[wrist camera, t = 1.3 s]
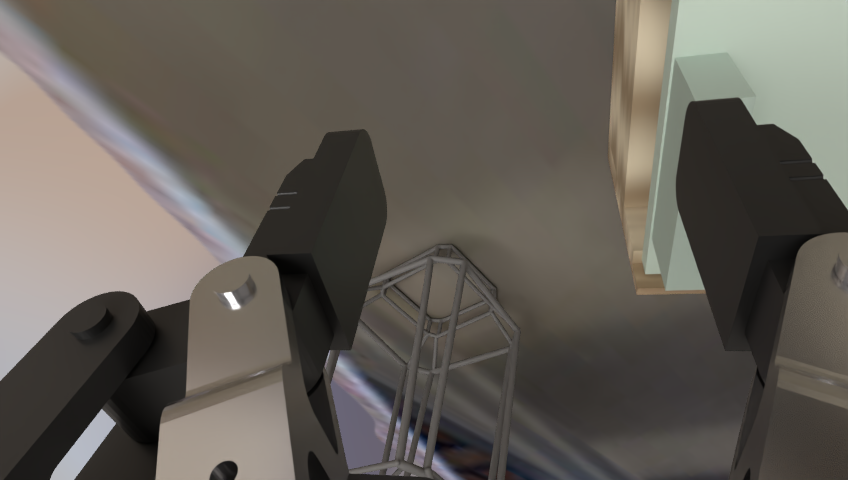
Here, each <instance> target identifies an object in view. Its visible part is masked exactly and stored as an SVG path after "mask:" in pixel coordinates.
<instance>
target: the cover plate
mask: <svg viewBox="0 0 848 480" xmlns="http://www.w3.org/2000/svg"><path fill="white" fill-rule="evenodd" d="M735 97H738V98H740V99H741V100H742V101H743V103H744V105H745V106H746V108H747V110H748V111H749V113H750V114H751V116H752V118H753V119H754V121H755V123H756V124H757V125H763V124H775V125H776V126H778V127H780V128H781V129H783V130H784V131H786V132H788V133H789V134H791V135H793V136H794V137H796V138H798V139H799V140H800V142H801V143H802V144H803V146H804V147H805V149H806V150H807V152H808V153H809V155H810V156H811V157H812V163H816V165H817V166H818V168H819V169H820V170H821V172H822V173H823V175H824V176H823V179H827V181H828V182H829V183H830V185H831V186H832V188H833V189H834V191H835V192H836V194H837V195H838V196H839V198H840V199H841V201H842V202H843V204H844V205H845V207H846V208H847V209H848V0H672V3H671V12H670V21H669V29H668V38H667V46H666V55H665V64H664V72H663V81H662V89H661V98H660V107H659V115H658V124H657V132H656V141H655V149H654V158H653V167H652V175H651V184H650V192H649V201H648V210H647V218H646V227H645V235H644V244H643V253H642V263H643V267H644V272H645V274H661V276H662V280H663V283H664V287H665V291H672V290H705V289H704V286H703V283H702V280H701V277H700V274H699V271H698V268H697V265H696V262H695V259H694V256H693V253H692V250H691V247H690V244H689V241H688V238H687V235H686V232H685V229H684V226H683V223H682V220H681V217H680V214H679V211H678V207H677V201H676V174H677V167H678V161H679V154H680V147H681V141H682V134H683V127H684V120H685V114H686V110H687V107H688V105H689V103H690V102H691V101H700V100H712V99H723V98H735Z"/></svg>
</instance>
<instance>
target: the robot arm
mask: <svg viewBox="0 0 848 480" xmlns="http://www.w3.org/2000/svg"><path fill="white" fill-rule="evenodd" d="M823 176H824V175H823V173H822V172H821V170H820V169H819V168H818V166H817V165H816V163H812V157H811V156H810V155H809V153H808V152H807V150H806V149H805V147H804V146H803V144H802V143H801V142H800V140H799V139H798V138H796V137H794V136H793V135H791V134H789V133H788V132H786V131H784V130H783V129H781V128H780V127H778V126H776V125H775V124H763V125H757V124H756V123H755V121H754V119H753V118H752V116H751V114H750V113H749V111H748V110H747V108H746V106H745V105H744V103H743V101H742V100H741V99H740V98H738V97H735V98H723V99H712V100H700V101H691V102H690V103H689V105H688V107H687V110H686V114H685V120H684V127H683V134H682V141H681V147H680V154H679V161H678V167H677V174H676V201H677V207H678V211H679V214H680V217H681V220H682V223H683V226H684V229H685V232H686V235H687V238H688V241H689V244H690V247H691V250H692V253H693V256H694V259H695V262H696V265H697V268H698V271H699V274H700V277H701V280H702V283H703V286H704V289H705V292H706V295H707V298H708V301H709V304H710V307H711V310H712V313H713V316H714V319H715V322H716V325H717V328H718V331H719V334H720V337H721V340H722V343H723V346H724V349H725V351H752V354H753V357H754V359H755V362H756V365H757V367H756V370H755V373H754V376H753V378H752V381H751V385H750V390H749V394H748V398H747V402H746V407H745V411H744V415H743V420H742V424H741V428H740V432H739V437H738V441H737V445H736V450H735V454H734V458H733V462H732V467H731V471H730V475H729V479H728V480H848V209H847V208H846V207H845V205H844V204H843V202H842V201H841V199H840V198H839V196H838V195H837V194H836V192H835V191H834V189H833V188H832V186H831V185H830V183H829V182H828V181H827V179H823ZM277 194H278V196H275V198H274V200H273V202H272V204H271V205H270V211H267V213H266V215H265V217H264V219H263V220H262V222H261V224H260V226H259V228H258V230H257V232H256V234H255V235H254V237H253V239H252V241H251V243H250V245H249V247H248V249H247V250H246V252H245V254H244V256H243V257H240V258H236V259H233V260H230V261H228V262H225V263H223V264H221V265H219V266H217V267H216V268H214V269H213V270H211V271H210V272H209V273H208V274H206V275H205V276H204V277H203V278H202V279H201V280H200V281H199V283H198V284H197V285H196V286H195V288H194V290H193V292H192V294H191V297H190V300H186V301H183V302H180V303H176V304H172V305H168V306H165V307H161V308H158V309H154V310H150V311H147V312H146V310H145V309H144V308H143V306H142V305H141V304H140V302H139V301H138V300H137V298H136V297H135V296H134V295H132V294H130V293H127V292H120V291H119V292H118V291H117V292H108V293H104V294H101V295H98V296H95V297H93V298H91V299H88V300H86V301H84V302H82V303H81V304H79V305H77V306H76V307H74V308H73V309H72V310H70V311H69V312H68V313H66V314H65V315H64V316H63V317H62V318H61V319H60V320H59V321H58V322H57V323H56V324H55V325H54V326H53V327H52V328H51V329H50V330H49V331H48V333H46V335H45V336H43V338H42V339H41V340H40V341H39V342H38V343H37V344H36V345H35V346H34V347H33V348H32V349H31V350H30V351H29V352H28V353H27V354H26V355H25V356H24V357H23V358H22V359H21V360H20V361H19V362H18V363H17V364H16V366H15V367H14V368H13V369H12V370H11V371H10V372H9V373H8V374H7V375H6V376H5V377H4V378H3V379H2V380H1V381H0V480H50V478H51V475H52V473H53V471H54V469H55V468H56V467H57V465H58V464H59V463H60V461H61V460H62V459H63V457H64V456H65V455H66V453H67V452H68V451H69V450H70V448H71V447H72V446H73V445H74V443H75V442H76V441H77V439H78V438H79V437H80V436H81V434H82V433H83V432H84V430H85V429H86V428H87V427H88V425H89V424H90V423H91V422H92V420H93V419H94V418H95V417H96V415H97V414H98V413H99V411H100V410H101V409H103V410H104V411H105V412H106V413H107V414H108V415H109V416H110V417H111V418H112V419H113V420H114V421H115V422H116V425H115V426H114V427H113V429H112V430H111V431H110V433H109V434H108V435H107V437H106V438H105V439H104V441H103V442H102V443H101V445H100V446H99V447H98V449H97V450H96V451H95V453H94V454H93V455H92V457H91V458H90V459H89V461H88V462H87V463H86V465H85V466H84V467H83V469H82V470H81V472H80V473H79V474H78V476H77V477H76V478H75V480H434V479H431V478H428V477H412V476H392V475H391V476H390V475H370V474H350V473H349V470H348V466H347V462H346V458H345V453H344V448H343V444H342V438H341V434H340V429H339V424H338V419H337V415H336V410H335V405H334V400H333V396H332V390H331V386H330V381H329V377H328V374H327V371H326V369H325V367H324V365H325V362H326V359H327V356H328V353H329V350H351V348H352V344H353V341H354V337H355V334H356V330H357V326H358V323H359V319H360V315H361V312H362V308H363V305H364V301H365V297H366V294H367V290H368V286H369V283H370V279H371V276H372V272H373V268H374V265H375V261H376V258H377V254H378V250H379V247H380V243H381V239H382V236H383V232H384V229H385V225H386V219H387V203H386V196H385V191H384V188H383V184H382V180H381V176H380V173H379V169H378V165H377V161H376V158H375V154H374V150H373V147H372V143H371V139H370V137H369V134H368V133H367V131H366V130H364V129H362V130H350V131H339V132H328V133H327V134H326V135H325V136H324V138H323V140H322V142H321V144H320V146H319V149H318V151H317V153H316V155H315V157H314V159H304V160H303V161H302V162H301V163H300V164H299V165H298V166H296V167H295V168H294V169H293V170H292V171H291V172H290V173H289V174H287V175H286V177H285V179H284V181H283V183H282V185H281V187H280V189H279V190H278V192H277Z"/></svg>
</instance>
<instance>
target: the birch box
mask: <svg viewBox="0 0 848 480" xmlns="http://www.w3.org/2000/svg"><path fill="white" fill-rule="evenodd" d="M671 3H672V0H616V15H615V34H614V53H613V71H612V90H611V109H610V127H609V146H608V159H609V164H610V169H611V174H612V179H613V183H614V188H615V193H616V198H617V202H618V207H619V212H620V217H621V222H622V226H623V231H624V236H625V241H626V245H627V250H628V255H629V260H630V265H631V269H632V274H633V279H634V284H635V288H636V293H637V295H645V294H695V293H706V292H705V290H672V291H665V287H664V283H663V280H662V276H661V274H645V272H644V267H643V263H642V253H643V244H644V235H645V227H646V218H647V210H648V201H649V192H650V184H651V175H652V167H653V158H654V149H655V141H656V132H657V124H658V115H659V107H660V98H661V89H662V81H663V72H664V64H665V55H666V46H667V38H668V29H669V21H670V12H671Z"/></svg>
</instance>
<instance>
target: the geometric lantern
mask: <svg viewBox="0 0 848 480" xmlns="http://www.w3.org/2000/svg"><path fill="white" fill-rule="evenodd" d="M439 249H447V256H446V257H444V256H438V254H439ZM451 250H453V251H454V252H455V253H456V254H457V255H458V256H459V257H460V258H461V259H460V258H452V257H451ZM434 251H435V253H434V255H430V256H427V255H429V254H430V253H432V252H434ZM425 256H427V257H425ZM423 257H425V258H423ZM421 258H422V259H421ZM419 259H420V260H419ZM437 262H438V263H447V264H448V265H449V266H450V267H451V268H452V269H453V270H454V271H455V272H456V273H457V274H458V281H457V286H456V292H455V297H454V302H453V308H452V313H451V315H450V316H448V317H445V318H443V319H435V318H430V317H429V316H428V315H427V314H426V312H427V305H428V299H429V292H430V285H431V277H432V270H433V264H435V263H437ZM454 264H456V265H460V270H459V269H458V268H457V267H456V266H455V265H454ZM419 266H420V267H419ZM417 267H418V268H417ZM414 268H416V269H414ZM425 268H426V271H425V278H424V285H423V291H422V297H421V304H420V308H419V307H417V306H416V305H415V304H414V303H413V302H412V301H411V300H409V299H408V298H407V297H406V296H405V295H404V294H403V293H401V292H400V291H399V290H398V289H397V288H396V287H395V286H394V285H393V284H395V283H397V282H399V281H401V280H403V279H405V278H407V277H409V276H411V275H413V274H415V273H417V272H419V271H421V270H423V269H425ZM412 269H414V270H412ZM409 270H412V271H410V272H408V273H406V274H404V275H402V276H400V277H398V278H396V279H394V280H392V281H390V280H389V278H391V277H394V276H396V275H399V274H401V273H404V272H407V271H409ZM466 272H467V273H468V274H469V276H470V277H471V278H472V279H473V281H474V282H475V283H476V284H477V286H478V287H479V288H480V289H481V291H482V292H483V293H484V294H485V296H486V297H487V298H488V299H487V298H486V297H485V296H484V295H483V294H482V293H481V292H480V291H479V290H478V289H477V288H476V287H475V286H474V285H473V284H472V283H471V282H470V280H469V279H468V278H467V277H466V276H465V275H466ZM478 276H479V277H480V278H481V279H482V280H483V281H484V282H485V283H486V284H487V285H488V286H489V287H490V288H491V289H492V290H491V292H490V291H489V289H488V288H487V287H486V286H485V284H484V283H483V282H482V281H481V279H480V278H479V277H478ZM381 281H383V284H382V285H380V286H371V285H373V284H376V283H378V282H381ZM464 281H465V282H466V283H467V284H468V285H469V286H470V287H471V288H472V289H473V290H474V291H475V292H476V293H477V294H478V295H479V296H480V297H481V298H482V299H483V300H484V301H481V302H479V303H477V304H475V305H472V306H470V307H468V308H466V309H463V310H461V311H459V309H460V303H461V298H462V292H463V286H464ZM369 286H371V287H368V290H367V291H372V290H380V289H381V292H380V294H378V295H376V296H374V297H373V298H371V299H369V300H367V301H366V302H364V305H363V307H365V306H367V305H369V304H370V303H372V302H374V301H375V300H377V299H379V298H381V297H382V298H383V299H384V300H386V301H387V302H388V303H389V304H390V305H391V306H393V307H394V308H395V309H396V310H397V311H398V312H400V313H401V314H402V315H403V316H404V317H406V318H407V319H408V320H409V321H410V322H411V323H413V324H414V325H415V326H416V327H417V328H416V334H415V340H414V346H413V352H412V357H411V358H410V360H409V362H408V363H405V362H404V361H403V360H402V359H401V358H400V357H399V356H398V355H397V354H396V353H395V352H394V351H393V350H392V349H391V348H390V347H389V346H388V345H387V344H386V343H385V342H384V341H383V340H382V339H381V338H380V337H378V336H377V335H376V334H375V333H374V332H373V331H372V330H371V329H370V328H369V327H368V326H367V325H366V324H365V323H364V322H363V321H362V320H361V319H359V323H358V325H359V326H360V327H361V328H362V329H363V330H364V331H365V332H366V333H367V334H368V335H369V336H370V337H371V338H372V339H373V340H374V341H375V342H376V343H378V344H379V345H380V346H381V347H382V348H383V349H384V350H385V351H386V352H387V353H388V354H389V355H390V356H391V357H392V358H393V359H394V360H395V361H396V362H398V363H399V364H400V365H401V366H402V370H401V374H400V379H399V384H398V388H397V393H396V398H395V402H394V407H393V412H392V417H391V421H390V426H389V431H388V435H387V440H386V445H385V449H384V454H383V459H382V463H378V464H373V465H368V466H364V467H359V468H354V469H350V470H349V473H350V474H362V473H366V472H372V471H377V470H380V473H379V475H386V471H387V468H391V467H397V468H398V469H397V470H396V471H395V472H394V473H393V474H392V476H398V475H399V474H400V473H401V472H402V471H405V473H404V476H410V475H411V474H414V475H416V476H419V477H428V478H431V479H434V480H444V479H443V478H442V477H440V476H439V475H438V474H437V473H436V472H435V471H433V470H432V469H431V465H432V460H433V454H434V448H435V443H436V437H437V432H438V427H439V421H440V415H441V410H442V404H443V399H444V393H445V387H446V382H447V376H448V371H449V370H451V369H455V368H458V367H461V366H465V365H468V364H471V363H475V362H478V361H481V360H485V359H488V358H491V357H495V356H498V355H502V354H505V353H508V355H507V361H506V368H505V374H504V381H503V387H502V394H501V400H500V407H499V413H498V420H497V426H496V433H495V439H494V445H493V452H492V458H491V465H490V471H489V478H488V480H495V479H496V472H497V465H498V459H499V466H498V475H497V480H505V471H506V461H507V452H508V443H509V433H510V424H511V414H512V405H513V396H514V386H515V377H516V367H517V358H518V349H519V340H520V334H521V331H520V328H519V327H518V326H517V325H516V324H515V322H514V321H513V320H512V319H511V317H510V316H509V315H508V314H507V312H506V311H505V310H504V309H503V307H502V306H501V305H500V303H499V302H498V301H497V300H496V287H494V286H493V285H492V284H491V283H490V282H489V281H488V280H487V279H486V278H485V277H484V276H483V275H482V274H481V273H480V272H479V271H478V270H477V269H476V268H475V267H474V266H473V265H472V264H471V263H470V262H469V261H468V260H467V259H466V258H465V257H464V256H463V255H462V254H461V253H460V252H459V251H458V250H457V249H456V248H455V247H454V246H453V245H436V246H435V247H433V248H431V249H429V250H427V251H426V252H424V253H422V254H420V255H418V256H416V257H414V258H412V259H410V260H409V261H407V262H405V263H403V264H401V265H399V266H397V267H395V268H393V269H392V270H390V271H388V272H386V273H384V274H382V275H379V276H377V277H374V278H372V279H370V283H369ZM388 287H390V288H391V289H392V290H394V291H395V292H396V293H397V294H398V295H399V296H400V297H402V298H403V299H404V300H405V301H406V302H407V303H408V304H410V305H411V306H412V307H413V308H414V309H415V310H416V311H418V312H419V316H418V322H416V321H415V320H414V319H413V318H411V317H410V316H409V315H408V314H407V313H406V312H404V311H403V310H402V309H401V308H400V307H399V306H397V305H396V304H395V303H394V302H393V301H392V300H390V299H389V298H388V297H387V296H386V292H387V289H388ZM486 303H487V304H488V305H489V311H488V312H486V313H484V314H481V315H479V316H477V317H475V318H472V319H470V320H468V321H466V322H464V323H461V324H459V325H457V320H458V316H459V315H461V314H463V313H466V312H468V311H470V310H473V309H475V308H477V307H479V306H482V305H484V304H486ZM493 311H495V312H496V313H497V314H498V315H499V316H501V317H502V318H503V319H504V320H505V321H506V322H507V323H508V325H509V326H510V327H511V328H512V330H513V331H514V336H513V339H511V338H510V336H509V335H508V333H507V332H506V330H505V329H504V327H503V326H502V324H501V323H500V321H499V320H498V318H497V317H496V315H495V313H494V312H493ZM489 315H491V316H492V318H493V319H494V321H495V322H496V324H497V325H498V327H499V328H500V330H501V331H502V333H503V334H504V336H505V338H506V339H507V341H508V342H509V344H510V346H507V347H504V348H501V349H498V350H494V351H491V352H488V353H484V354H481V355H478V356H474V357H471V358H468V359H465V360H461V361H458V362H455V363H451V364H450V359H451V354H452V348H453V343H454V337H455V331H456V330H457V329H460V328H462V327H464V326H466V325H469V324H471V323H473V322H475V321H478V320H480V319H482V318H484V317H487V316H489ZM425 318H426V319H427V320H428V325H427V329H426V330H425V329H424V325H425ZM448 320H450V323H449V329H448V330H446V331H444V332H441V329H442V323H444V322H445V321H448ZM432 322H439V325H438V331H437V334H434V333H430V328H431V324H432ZM423 333H424V334H425V336H424V337H423ZM446 334H447V339H446V345H445V350H444V355H443V361H442V366H441V367H438V368H436V362H437V344H438V338H440V337H442V336H444V335H446ZM428 336H430V337H434V349H433V367H432V370H428V369H424V368H420V367H418V365H419V358H420V351H421V348H422V346H423V344H424V343H425V341H426V340H427V338H428ZM422 338H423V339H422ZM339 353H340V350H331V351H330V355H329V359H328V363H327V367H326V371H327V374H328V377H329V381H330V384H331V380H332V377H333V374H334V370H335V367H336V363H337V360H338V356H339ZM407 370H410V371H409V377H408V383H407V389H406V395H405V401H404V408H403V414H402V420H401V426H400V432H399V438H398V444H397V450H396V456H395V460H392V461H388V460H389V456H390V450H391V446H392V441H393V436H394V431H395V426H396V421H397V416H398V411H399V406H400V401H401V397H402V392H403V387H404V382H405V377H406V372H407ZM417 372H418V373H422V374H426V375H428V378H427V382H426V386H425V390H424V394H423V398H422V402H421V406H420V410H419V414H418V418H417V423H416V427H415V431H414V435H413V439H412V443H411V448H410V452H409V456H408V460H407V461H405V460H404V456H405V450H406V443H407V437H408V430H409V424H410V418H411V411H412V404H413V398H414V391H415V385H416V378H417ZM438 373H440V376H439V382H438V387H437V392H436V398H435V403H434V408H433V414H432V419H431V424H430V430H429V436H428V442H427V448H426V453H425V459H424V465H423V468H422V467H419V466H417V465H414V464H413V462H414V458H415V453H416V449H417V445H418V440H419V436H420V432H421V427H422V423H423V419H424V414H425V410H426V406H427V401H428V397H429V393H430V389H431V385H432V381H433V377H434V374H438ZM502 431H503V432H502ZM501 438H502V441H501ZM500 445H501V449H500ZM499 452H500V458H499Z"/></svg>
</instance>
